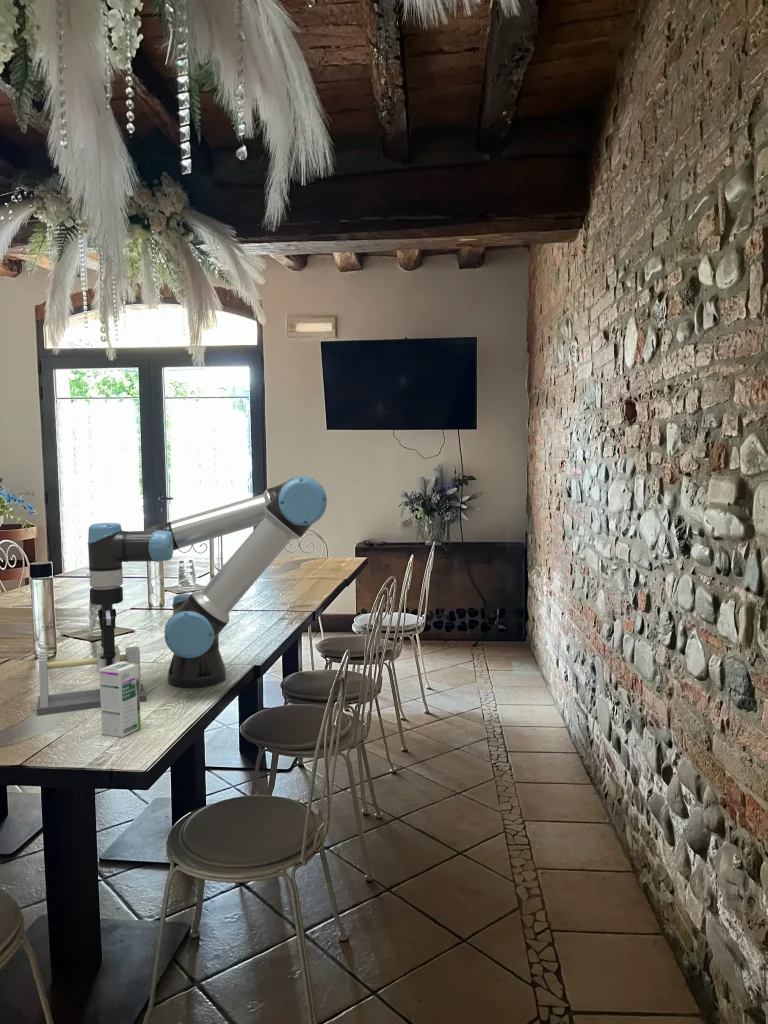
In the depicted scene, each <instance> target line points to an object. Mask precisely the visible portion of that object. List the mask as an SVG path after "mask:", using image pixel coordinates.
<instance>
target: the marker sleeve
mask: <svg viewBox="0 0 768 1024" xmlns="http://www.w3.org/2000/svg"><path fill="white" fill-rule="evenodd" d="M115 653H116V655H115V664H116V663H117V662H120V655H121V650H120V647H119V645H115ZM102 656H103V648H102V647H98V648H97V647H96V657H98V664H96V667H97V673H98V674H99V669H101V668H103V659H100V657H102Z"/></svg>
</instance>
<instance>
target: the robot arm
mask: <svg viewBox="0 0 768 1024" xmlns="http://www.w3.org/2000/svg"><path fill="white" fill-rule="evenodd" d="M327 502H328V497H327V494H326V491H325V489H324V488H323V486H322V485H321V484H320V483H319V481H317V480H315V479H314V478H311V477H309V476H296V477H292V478H290V479H288V480H286V481H284V482H282V483H280V484H278V485H275V486H272V487H269V488H265V490H264V491H263V493H262V494H258V495H255V496H252V497H249V498H246V499H242V500H239V501H236V502H232V503H229V504H224V505H223V506H222V505H221V506H218V507H215V508H212V509H209V510H204V511H201V512H199V513H195V514H191V515H188V516H185V517H181V518H177V519H173V520H171V521H169V522H163V523H161V524H155V525H151V526H149V527H148V528H146V529H145V530H135V531H134V530H133V531H129V530H128V531H127V530H123V529H122V526H121V523H118V522H99V523H93V524H91V525H90V526H89V527H88V533H87V534H88V536H87V539H88V540H87V548H88V569H89V573H88V574H86V579H89V586H90V587H91V588H90V589H89V603H90V604H92V605H93V606H101V607H100V608H99V609H98V610H97V616H98V619H99V621H98V622H99V629H100V636H101V637H100V638H101V639H100V640H101V643H100V646H101V648H103V656H102V657H100V659H103V668H104V667H107V666H110V665H113V664H115V655H116V653H115V646H116V644H115V643H116V642H115V639H116V637H115V629H116V618H117V611H116V608H113V605H114V604H116V605H117V604H121V603H122V602H123V600H124V591H123V590H124V588H123V587H122V585H123V583H124V579H123V578H124V575H123V563H129V562H130V563H132V562H141V563H142V562H155V563H159V562H165V561H170V560H171V559H172V558H173V555H174V551H176V550H178V549H182V548H186V547H189V546H192V545H197V544H199V543H202V542H206V541H210V540H212V539H215V538H219V537H222V536H225V535H229V534H232V533H235V532H239V531H243V530H246V529H250V528H252V527H255V529H254V530H252V532H251V533H250V534H249V536H248V537H247V538H246V539H245V540H244V541H243V543H242V544H241V545H240V546H239V547H238V549H237V550H235V552H234V553H233V554H232V556H231V557H229V559H227V561H226V562H225V563H224V564H223V566H222V567H221V568H220V570H218V572H217V573H216V574H215V575H214V576H213V578H211V580H210V581H209V582H208V583H207V584H206V586H205V587H204V588H203V589H202V590H199V591H193V592H192V593H191V594H179V595H175V596H174V597H173V600H172V605H171V606H172V615H171V617H170V618H169V619H168V620H167V622H166V624H165V625H164V641H165V644H166V646H167V647H168V649H169V650H170V651H171V652H172V653H173V654H172V657H171V662H170V664H169V668H168V671H167V683H168V684H169V685H171V686H173V687H178V688H179V687H180V688H202V687H208V686H212V685H215V684H219V683H221V682H224V681H225V680H226V678H227V668H226V666H225V663H224V660H223V657H222V654H221V651H220V646H219V645H220V641H219V639H220V638H219V637H220V636H219V634H220V633H221V632H222V631H223V629H224V628H226V626H227V625H228V624H229V622H230V612H231V611H232V610H233V608H235V606H236V605H237V604H238V603H239V601H240V600H241V599H242V598H243V597H244V596H245V594H246V593H247V592H248V590H250V588H251V587H252V586H253V585H254V583H256V581H257V580H258V579H259V578H260V577H261V576H262V575H263V574H264V572H265V571H266V570H267V568H268V567H270V565H271V564H272V563H273V561H275V559H276V558H277V557H278V556H279V554H281V552H282V551H283V550H284V549H285V548H286V546H287V545H288V544H289V543H290V542H291V540H297V539H301V538H302V537H303V536H304V534H305V533H306V532H307V531H308V530H309V529H310V528H311V526H312V525H313V524H315V523H316V522H319V520H320V519H321V518H322V517H323V515H324V514H325V511H326V508H327V504H328V503H327Z"/></svg>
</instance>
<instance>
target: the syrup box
mask: <svg viewBox="0 0 768 1024" xmlns="http://www.w3.org/2000/svg"><path fill="white" fill-rule="evenodd" d="M98 674H99V689H100V698H101V707H100V716H101V717H100V718H101V733H102V735H106V736H109V737H116V738H124V737H126V736H128V735H130V734H132V733H135V732H136V731H137V730H140V729H141V727H142V725H141V721H142V720H141V702H140V696H139V671H138V664H135V663H129V662H126V661H121V662H117V663H116V664H113V665H110V666H107V667H104V668H101V669H99V673H98Z"/></svg>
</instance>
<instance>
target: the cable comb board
mask: <svg viewBox="0 0 768 1024" xmlns="http://www.w3.org/2000/svg"><path fill="white" fill-rule="evenodd" d="M139 647H140V646H129V647H125V654H120V662H129V663H135V664H138V671H139V696H140V703H142V702H143V703H144V702H147V693H146V691H145V687H144V684H143V683H141V649H140V648H139ZM48 660H49V659H48V651H47V650H45V651H40V652H39V657H38V674H39V675H38V678H39V680H38V681H39V695H38V696H37V697H38V698H37V703H36V704H37V705H36V716H43V715H52V714H59V713H66V712H67V713H68V712H72V711H73V712H74V711H75V712H76V711H80V710H81V711H82V710H88V709H95V708H96V709H97V708H101V698H100V688H97V689H86V690H80V691H71V692H63V693H55V694H54V693H53V694H49V693H50V692H49V691H50V690H49V670H53V669H54V670H56V669H63V668H74V667H82V666H91V665H97V664H98V657H97V656H96V657H88V658H79V659H69V660H60V661H58V660H57V661H51V662H48Z"/></svg>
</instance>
